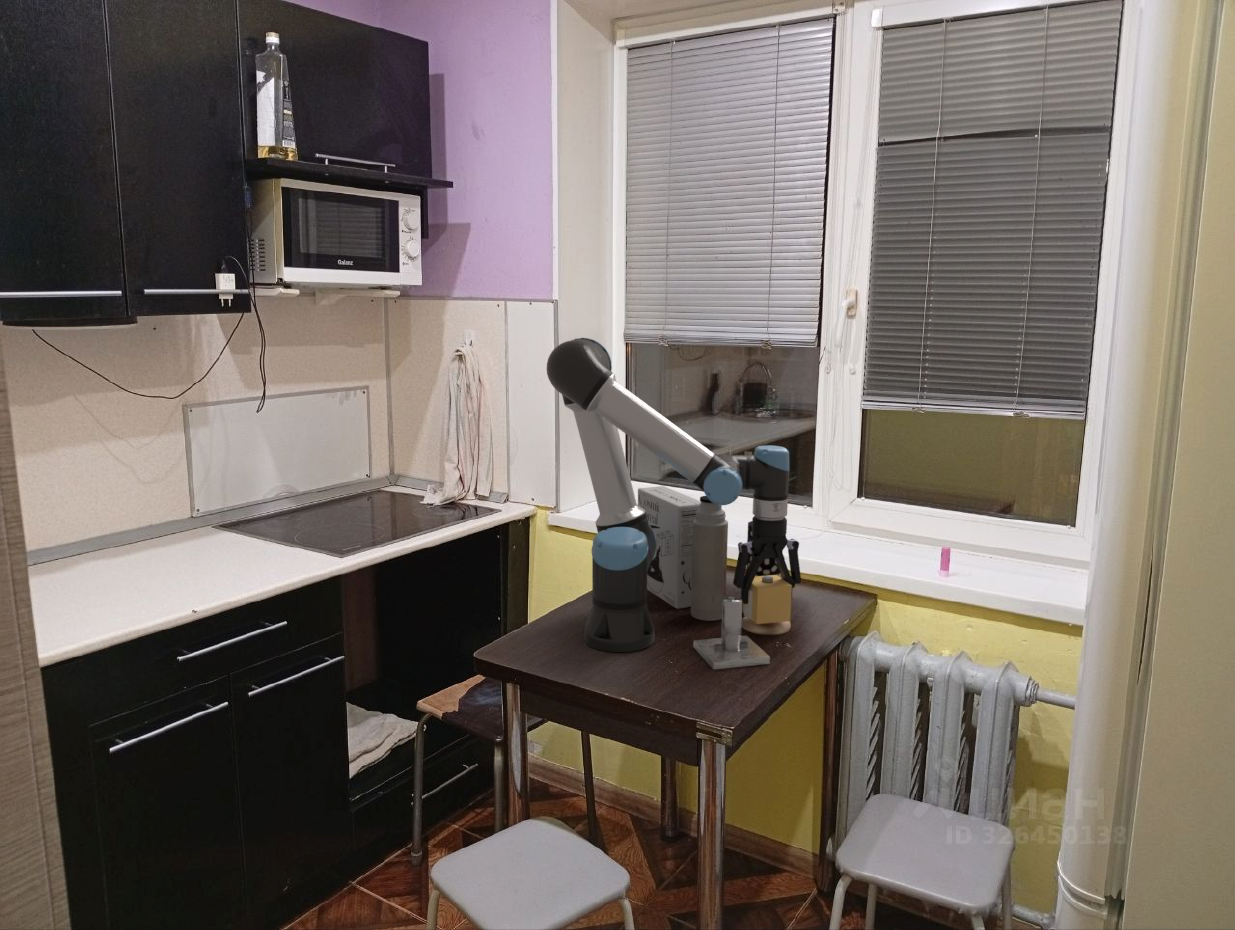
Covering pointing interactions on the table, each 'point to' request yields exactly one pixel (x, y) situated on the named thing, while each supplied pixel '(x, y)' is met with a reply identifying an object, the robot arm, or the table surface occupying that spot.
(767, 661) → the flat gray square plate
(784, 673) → the table surface
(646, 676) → the table surface
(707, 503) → the thermos bottle
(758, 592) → the yellow knobbed cube
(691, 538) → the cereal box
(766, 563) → the white-spotted black cylinder
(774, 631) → the cork pad
